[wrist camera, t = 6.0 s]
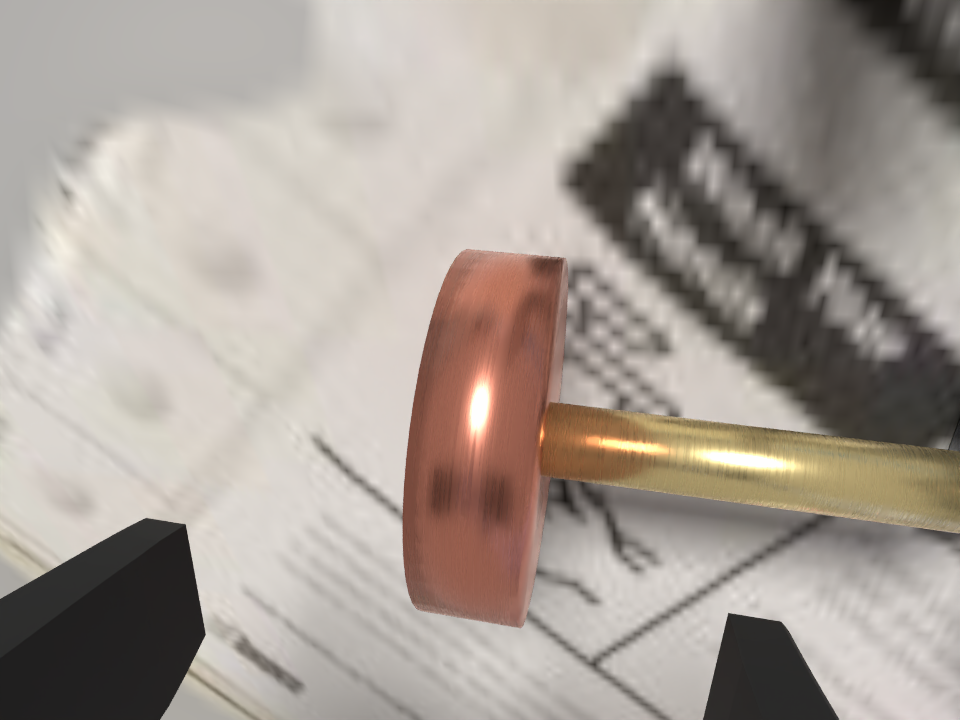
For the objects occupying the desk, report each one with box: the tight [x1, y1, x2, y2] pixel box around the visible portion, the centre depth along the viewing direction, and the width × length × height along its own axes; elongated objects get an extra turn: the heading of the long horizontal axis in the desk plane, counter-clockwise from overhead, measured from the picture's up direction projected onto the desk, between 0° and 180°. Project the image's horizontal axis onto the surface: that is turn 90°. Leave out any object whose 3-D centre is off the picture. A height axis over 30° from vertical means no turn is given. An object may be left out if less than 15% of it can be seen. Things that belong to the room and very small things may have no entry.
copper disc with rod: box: [403, 249, 960, 628], centre depth 13 cm, size 11×7×7 cm, turn 88°
